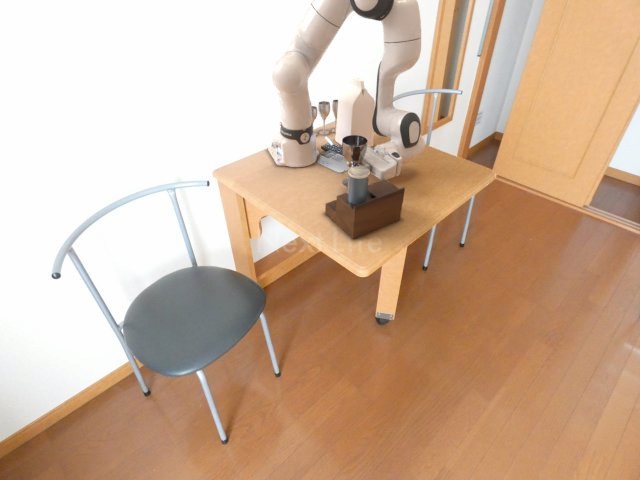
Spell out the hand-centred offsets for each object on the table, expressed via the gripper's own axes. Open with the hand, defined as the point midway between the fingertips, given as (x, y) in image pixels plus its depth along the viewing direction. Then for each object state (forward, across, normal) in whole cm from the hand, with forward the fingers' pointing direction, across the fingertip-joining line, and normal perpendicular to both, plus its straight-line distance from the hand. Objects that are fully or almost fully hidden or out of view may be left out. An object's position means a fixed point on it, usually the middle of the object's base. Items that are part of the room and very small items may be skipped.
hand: (351, 167), depth 121 cm
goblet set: (-25, -46, +10) cm, 53 cm away
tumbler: (+10, +17, 0) cm, 19 cm away
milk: (-24, -31, +10) cm, 40 cm away
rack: (+5, +14, +10) cm, 18 cm away
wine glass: (-1, 0, +6) cm, 6 cm away
